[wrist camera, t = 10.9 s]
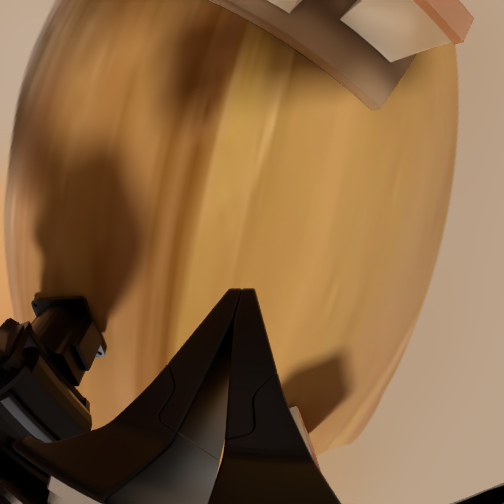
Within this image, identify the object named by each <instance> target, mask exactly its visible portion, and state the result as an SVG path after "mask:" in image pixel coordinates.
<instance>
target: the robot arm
mask: <svg viewBox="0 0 504 504" xmlns="http://www.w3.org/2000/svg"><path fill="white" fill-rule="evenodd" d="M80 301H81V302H82V303H80ZM31 304H32V307H33V310H34V312H35V315H36V318H35V319H34V321H33V322H32V323H31V324H30V322H29V321H28V322H25V323H22V324H19V322H16V321H15V320H13V319H12V318H9V319H7V320H6V321H5V322H4V323H3V324H2V325H1V326H0V504H341V503H340V501H339V500H338V498H337V496H336V495H335V493H334V492H333V490H332V489H331V487H330V486H329V484H328V483H327V481H326V479H325V478H324V476H323V475H322V473H321V471H320V470H319V468H318V466H317V465H316V463H315V461H314V460H313V458H312V456H311V454H310V452H309V450H308V448H307V446H306V444H305V442H304V439H303V437H302V435H301V433H300V431H299V429H298V427H297V424H296V422H295V420H294V418H293V416H292V414H291V411H290V409H289V406H288V404H287V401H286V399H285V396H284V393H283V390H282V387H281V383H280V380H279V376H278V374H277V369H276V365H275V362H274V358H273V354H272V351H271V347H270V343H269V340H268V336H267V332H266V328H265V325H264V321H263V317H262V313H261V310H260V306H259V302H258V298H257V295H256V291H255V289H254V288H244V289H243V290H242V289H240V288H231V289H229V290H228V291H227V292H226V293H225V295H224V296H223V297H222V298H221V299H220V301H219V302H218V303H217V304H216V306H215V307H214V308H213V309H212V311H211V312H210V313H209V314H208V315H207V317H206V318H205V319H204V320H203V322H202V323H201V324H200V325H199V326H198V328H197V329H196V330H195V331H194V333H193V334H192V335H191V336H190V337H189V339H188V340H187V341H186V342H185V344H184V345H183V346H182V347H181V348H180V350H179V351H178V352H177V353H176V354H175V356H174V357H173V358H172V359H171V361H170V362H169V363H168V365H166V367H165V368H164V369H163V370H162V371H161V373H160V374H159V375H158V376H157V377H156V378H155V379H154V381H153V382H152V383H151V384H150V385H149V386H148V387H147V388H146V389H145V390H144V391H143V392H142V393H141V394H140V395H139V396H138V397H137V398H136V399H135V400H134V401H133V402H132V403H131V404H130V405H129V406H128V407H127V408H126V409H124V410H123V411H122V412H121V413H120V414H119V415H118V416H117V417H116V418H115V419H114V420H112V421H111V422H110V423H108V424H106V425H105V426H103V427H101V428H98V429H95V430H92V431H91V427H92V420H91V415H90V403H89V401H88V400H87V399H86V398H84V397H83V396H82V395H81V394H80V393H79V391H78V390H77V389H76V388H75V387H74V386H79V384H80V382H81V380H82V378H83V375H84V373H85V371H89V369H90V367H91V365H92V363H93V361H94V359H95V357H104V355H105V353H106V351H105V349H104V346H103V344H102V339H101V337H100V334H99V332H98V329H97V327H96V324H95V321H94V319H93V318H92V316H91V313H90V310H89V307H88V304H87V301H86V299H85V298H84V297H82V296H72V297H56V298H38V299H34V300H33V301H32V303H31ZM36 304H37V305H36ZM99 351H100V352H99ZM224 439H225V440H226V441H225V445H224V453H223V458H222V462H221V465H220V468H219V471H218V466H219V462H220V461H219V460H220V457H221V452H222V448H223V443H224ZM217 471H218V474H217ZM216 475H217V477H216ZM215 479H216V480H215ZM451 504H504V483H502V484H499V485H497V486H494V487H492V488H490V489H487V490H484V491H482V492H479V493H477V494H474V495H472V496H470V497H467V498H465V499H462V500H459V501H457V502H454V503H451Z"/></svg>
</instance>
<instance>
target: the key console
mask: <svg viewBox="0 0 504 504" xmlns="http://www.w3.org/2000/svg"><path fill="white" fill-rule="evenodd" d="M208 1H211V2H213V3H215V4H217V5H219V6H221V7H223V8H225V9H227V10H229V11H231V12H233V13H235V14H237V15H239V16H241V17H243V18H245V19H246V20H248V21H250V22H252V23H254V24H255V25H257V26H259V27H261V28H262V29H264V30H266V31H267V32H269V33H271V34H272V35H274V36H275V37H277V38H279V39H280V40H282V41H283V42H285V43H286V44H288V45H289V46H291V47H292V48H294V49H295V50H297V51H298V52H300V53H301V54H303V55H304V56H305V57H307V58H308V59H310V60H311V61H312V62H314V63H315V64H316V65H318V66H319V67H320V68H322V69H323V70H324V71H326V72H327V73H328V74H330V75H331V76H332V77H333V78H335V79H336V80H337V81H338V82H340V83H341V84H342V85H343V86H344V87H346V88H347V89H348V90H349V91H350V92H351V93H353V94H354V95H355V96H356V97H357V98H358V99H359V100H361V101H362V102H363V103H364V104H365V105H366V106H367V107H368V108H369V109H370V110H376V109H381V108H382V107H383V105H384V104H385V102H386V100H387V99H388V97H389V96H390V94H391V93H392V91H393V90H394V88H395V87H396V85H397V84H398V82H399V80H400V79H401V77H402V76H403V74H404V73H405V71H406V70H407V68H408V66H409V65H410V63H411V62H412V60H413V59H414V57H415V55H416V54H417V53H416V54H413V55H410V56H407V57H404V58H402V59H399V60H396V61H393V62H390V61H388V60H387V59H386V58H385V57H384V56H383V55H382V54H381V53H380V52H379V51H378V50H377V49H375V48H374V47H373V46H372V45H371V44H370V43H369V42H367V41H366V40H365V39H364V38H363V37H362V36H360V35H359V34H358V33H357V32H355V31H354V30H353V29H352V28H350V27H349V26H348V25H347V24H345V23H344V22H343V21H341V20H340V19H341V17H342V16H343V15H344V14H345V13H346V12H347V11H348V10H349V9H350V7H351V6H352V5H353V4H354V3H355V2H356V1H357V0H302V1H301V2H300V3H299V4H298V5H297V6H296V7H295V8H294V9H293V10H292V11H291V12H290V13H288V12H286V11H285V10H283V9H281V8H280V7H278V6H276V5H274V4H273V3H271V2H269V1H267V0H208Z"/></svg>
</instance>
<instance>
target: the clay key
mask: <svg viewBox="0 0 504 504" xmlns="http://www.w3.org/2000/svg"><path fill="white" fill-rule="evenodd" d="M340 20H341V21H343V22H344V23H345V24H347V25H348V26H349V27H350V28H352V29H353V30H354V31H355V32H357V33H358V34H359V35H360V36H362V37H363V38H364V39H365V40H366V41H367V42H369V43H370V44H371V45H372V46H373V47H374V48H375V49H377V50H378V51H379V52H380V53H381V54H382V55H383V56H384V57H385V58H386V59H387V60H388V61H390V62H393V61H396V60H399V59H402V58H404V57H407V56H410V55H413V54H416V53H419V52H422V51H425V50H429V49H432V48H435V47H439V46H442V45H445V44H449V43H453V44H458V43H461V42H464V39H465V37H466V35H467V33H468V31H469V28H470V26H471V24H472V22H473V20H474V18H473V16H472V15H471V14H470V12H468V10H467V9H466V8H465V7H464V5H463V4H462V3H461V2H460V1H459V0H357V1H356V2H355V3H354V4H353V5H352V6H351V7H350V9H349V10H348V11H347V12H346V13H345V14H344V15H343V16H342V17H341V19H340Z"/></svg>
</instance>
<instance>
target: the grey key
mask: <svg viewBox="0 0 504 504" xmlns="http://www.w3.org/2000/svg"><path fill="white" fill-rule="evenodd" d="M267 1H269V2H271V3H273V4H274V5H276V6H278V7H280V8H281V9H283V10H285V11H286V12H288V13H290V12H291V11H292V10H293V9H294V8H295V7H296V6H297V5H298V4H299V3H300V2H301V1H302V0H267Z"/></svg>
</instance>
